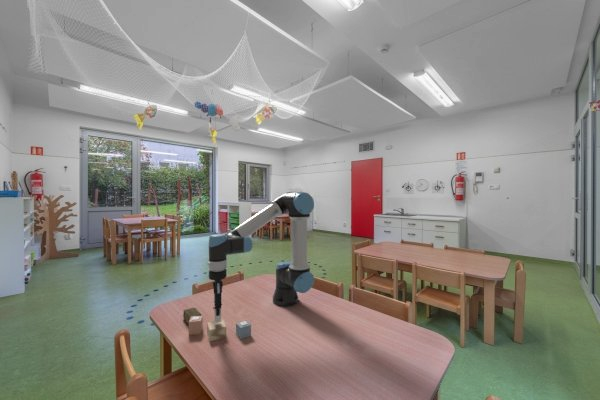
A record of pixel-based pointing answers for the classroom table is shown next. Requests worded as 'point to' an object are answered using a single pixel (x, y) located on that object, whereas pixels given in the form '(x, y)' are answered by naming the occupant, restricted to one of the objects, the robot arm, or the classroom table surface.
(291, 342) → the classroom table surface
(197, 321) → the terracotta block
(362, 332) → the classroom table surface
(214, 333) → the oak block
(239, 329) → the slate block
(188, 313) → the stone block
